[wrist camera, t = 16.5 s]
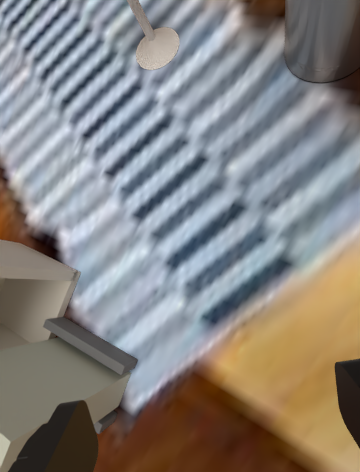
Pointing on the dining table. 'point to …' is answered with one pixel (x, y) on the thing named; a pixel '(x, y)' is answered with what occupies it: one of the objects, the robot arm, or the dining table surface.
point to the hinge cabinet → (47, 309)
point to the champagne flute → (154, 41)
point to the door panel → (49, 389)
